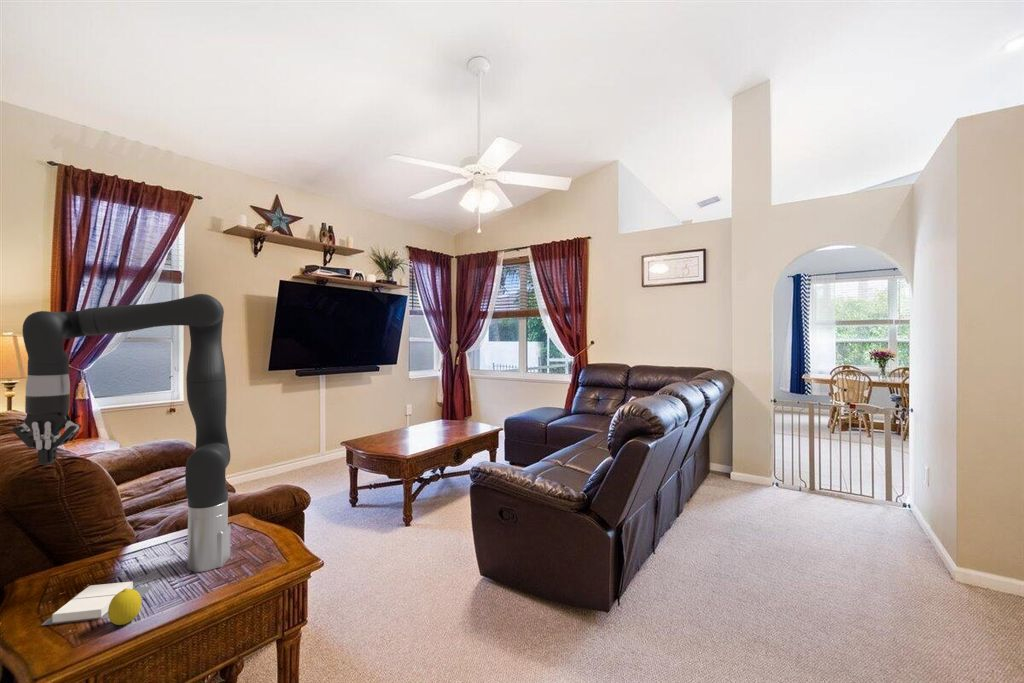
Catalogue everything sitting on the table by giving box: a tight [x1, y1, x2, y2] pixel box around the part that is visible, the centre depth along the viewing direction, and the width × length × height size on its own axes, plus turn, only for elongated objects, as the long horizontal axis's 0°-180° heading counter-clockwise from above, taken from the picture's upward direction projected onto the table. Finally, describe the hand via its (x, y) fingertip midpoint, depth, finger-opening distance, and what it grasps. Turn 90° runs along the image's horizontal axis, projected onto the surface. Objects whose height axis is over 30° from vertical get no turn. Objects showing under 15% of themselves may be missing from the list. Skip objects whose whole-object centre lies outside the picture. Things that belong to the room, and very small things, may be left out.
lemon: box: [108, 588, 143, 626], centre depth 97 cm, size 6×6×8 cm
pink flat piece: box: [51, 595, 115, 624], centre depth 100 cm, size 2×6×9 cm
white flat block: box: [72, 581, 134, 600], centre depth 106 cm, size 2×6×9 cm
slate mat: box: [41, 585, 154, 626], centre depth 104 cm, size 15×13×1 cm
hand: (47, 463), depth 109 cm, fingers closed
